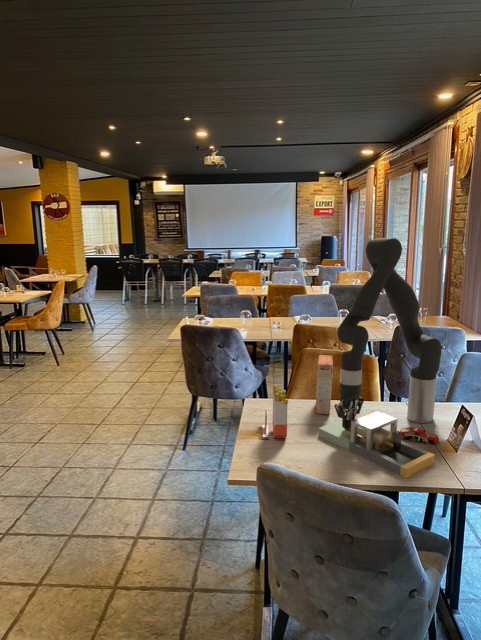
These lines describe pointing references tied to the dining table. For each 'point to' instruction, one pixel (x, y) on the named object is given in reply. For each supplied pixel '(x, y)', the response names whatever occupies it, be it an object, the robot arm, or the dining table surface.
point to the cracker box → (324, 384)
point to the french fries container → (279, 413)
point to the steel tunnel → (372, 426)
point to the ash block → (376, 434)
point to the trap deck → (381, 452)
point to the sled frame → (391, 442)
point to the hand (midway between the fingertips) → (348, 427)
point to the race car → (419, 435)
